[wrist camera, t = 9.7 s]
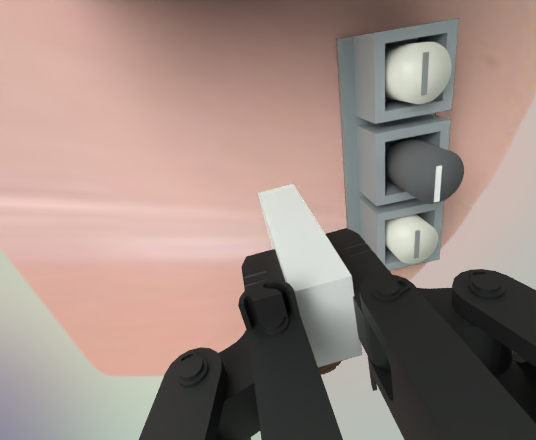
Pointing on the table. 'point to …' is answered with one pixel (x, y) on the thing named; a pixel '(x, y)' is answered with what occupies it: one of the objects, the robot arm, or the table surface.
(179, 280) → the table surface
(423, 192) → the black dial
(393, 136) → the mount
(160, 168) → the table surface
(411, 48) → the knob
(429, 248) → the knob
